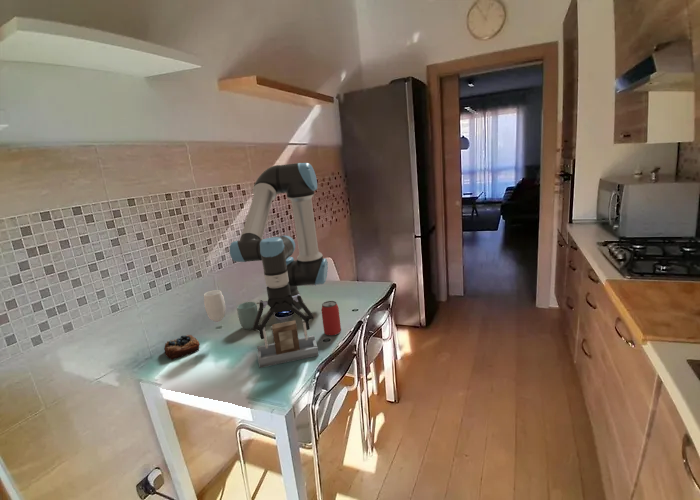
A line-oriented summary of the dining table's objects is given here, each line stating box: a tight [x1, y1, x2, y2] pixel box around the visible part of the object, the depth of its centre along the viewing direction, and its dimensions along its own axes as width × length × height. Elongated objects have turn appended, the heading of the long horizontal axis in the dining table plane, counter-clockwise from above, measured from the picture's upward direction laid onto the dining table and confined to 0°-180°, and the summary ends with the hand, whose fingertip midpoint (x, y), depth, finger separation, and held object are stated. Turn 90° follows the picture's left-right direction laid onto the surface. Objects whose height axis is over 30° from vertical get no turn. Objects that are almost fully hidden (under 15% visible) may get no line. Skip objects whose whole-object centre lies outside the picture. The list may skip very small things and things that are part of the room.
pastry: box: [164, 334, 200, 361], centre depth 140 cm, size 11×12×6 cm
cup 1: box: [203, 289, 226, 323], centre depth 142 cm, size 7×7×21 cm
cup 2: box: [236, 301, 259, 330], centre depth 154 cm, size 8×8×10 cm
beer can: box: [321, 300, 342, 337], centre depth 142 cm, size 7×7×12 cm
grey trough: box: [256, 334, 320, 369], centre depth 128 cm, size 20×7×5 cm, turn 104°
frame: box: [271, 319, 300, 355], centre depth 127 cm, size 8×4×11 cm, turn 104°
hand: (286, 342), depth 128 cm, fingers open, 13 cm apart
